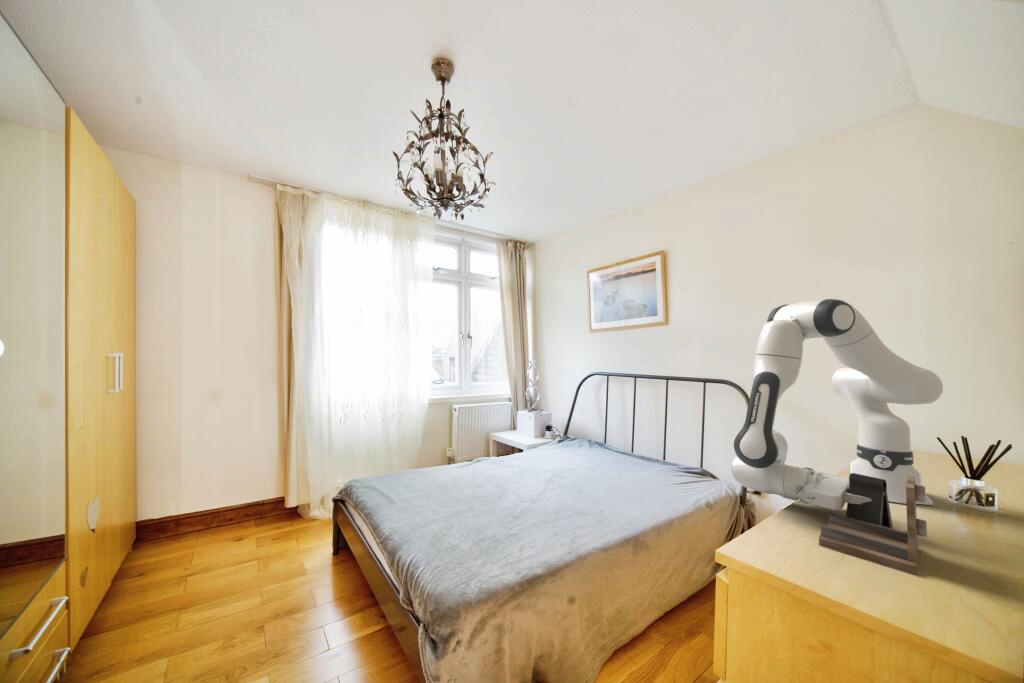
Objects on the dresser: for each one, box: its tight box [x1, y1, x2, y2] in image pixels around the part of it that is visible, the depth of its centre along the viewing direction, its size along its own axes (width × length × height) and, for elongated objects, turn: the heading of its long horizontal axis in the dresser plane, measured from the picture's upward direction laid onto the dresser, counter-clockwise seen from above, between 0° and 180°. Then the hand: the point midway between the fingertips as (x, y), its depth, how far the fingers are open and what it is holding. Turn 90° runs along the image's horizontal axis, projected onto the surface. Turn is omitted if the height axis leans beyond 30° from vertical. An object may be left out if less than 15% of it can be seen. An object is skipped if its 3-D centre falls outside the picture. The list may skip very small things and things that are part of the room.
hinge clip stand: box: [818, 476, 928, 576], centre depth 77 cm, size 15×15×16 cm
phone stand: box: [845, 472, 894, 529], centre depth 88 cm, size 9×6×12 cm, turn 118°
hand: (873, 500), depth 87 cm, fingers closed on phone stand
